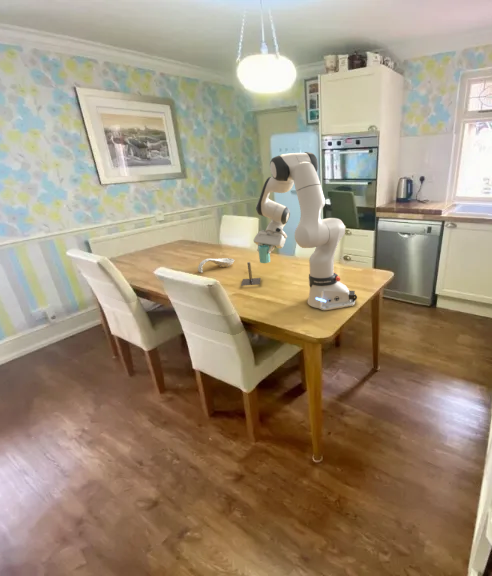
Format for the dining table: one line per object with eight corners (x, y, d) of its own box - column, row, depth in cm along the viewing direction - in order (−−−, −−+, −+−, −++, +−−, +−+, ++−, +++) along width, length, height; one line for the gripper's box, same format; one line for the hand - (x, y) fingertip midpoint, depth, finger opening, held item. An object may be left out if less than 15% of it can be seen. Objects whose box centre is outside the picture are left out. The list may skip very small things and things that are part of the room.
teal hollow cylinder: (270, 259, 187) (269, 244, 183) (270, 262, 181) (268, 247, 178) (260, 260, 186) (258, 245, 183) (259, 263, 181) (258, 248, 177)
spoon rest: (228, 261, 215) (227, 251, 212) (238, 265, 207) (237, 254, 204) (195, 270, 200) (193, 260, 197) (204, 275, 192) (202, 263, 189)
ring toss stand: (261, 280, 181) (258, 259, 176) (260, 286, 172) (257, 264, 167) (243, 281, 180) (240, 260, 176) (241, 288, 171) (238, 266, 166)
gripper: (257, 226, 187) (247, 246, 184) (284, 230, 177) (274, 251, 173) (263, 232, 192) (253, 252, 189) (289, 236, 182) (280, 257, 178)
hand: (263, 252), depth 181 cm, fingers closed on teal hollow cylinder, 6 cm apart
